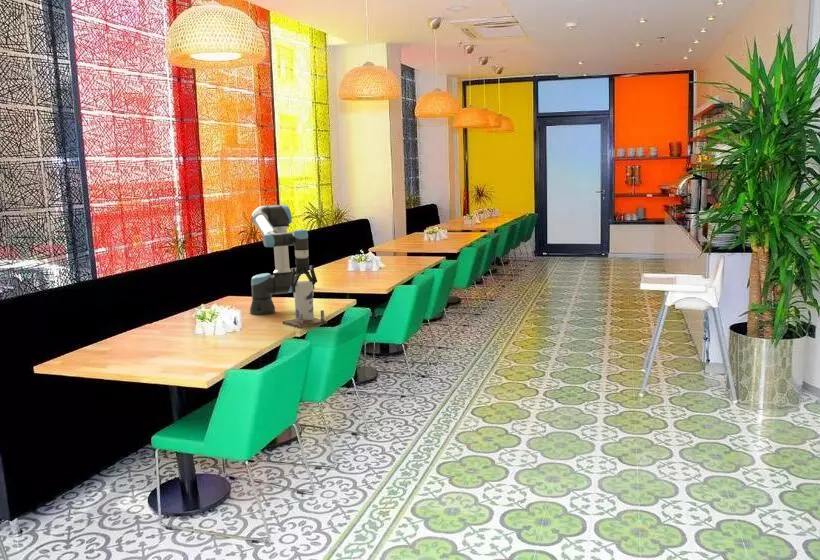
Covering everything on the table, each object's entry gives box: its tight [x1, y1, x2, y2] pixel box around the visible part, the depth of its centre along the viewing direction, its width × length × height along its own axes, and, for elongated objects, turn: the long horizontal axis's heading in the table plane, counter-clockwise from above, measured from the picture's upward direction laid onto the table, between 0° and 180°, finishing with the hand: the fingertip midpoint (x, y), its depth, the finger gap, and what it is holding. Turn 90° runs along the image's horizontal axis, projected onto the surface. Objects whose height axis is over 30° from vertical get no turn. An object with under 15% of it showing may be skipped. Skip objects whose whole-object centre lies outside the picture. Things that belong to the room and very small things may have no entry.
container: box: [294, 280, 315, 319], centre depth 411 cm, size 10×10×20 cm
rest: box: [282, 310, 328, 329], centre depth 412 cm, size 18×18×8 cm
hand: (303, 296), depth 410 cm, fingers closed on container, 10 cm apart
